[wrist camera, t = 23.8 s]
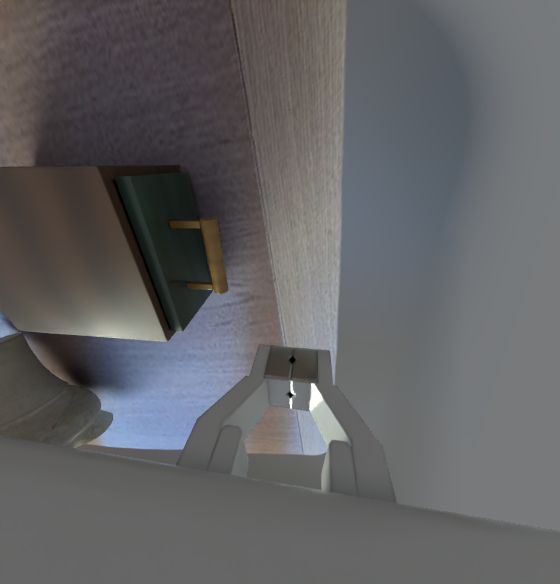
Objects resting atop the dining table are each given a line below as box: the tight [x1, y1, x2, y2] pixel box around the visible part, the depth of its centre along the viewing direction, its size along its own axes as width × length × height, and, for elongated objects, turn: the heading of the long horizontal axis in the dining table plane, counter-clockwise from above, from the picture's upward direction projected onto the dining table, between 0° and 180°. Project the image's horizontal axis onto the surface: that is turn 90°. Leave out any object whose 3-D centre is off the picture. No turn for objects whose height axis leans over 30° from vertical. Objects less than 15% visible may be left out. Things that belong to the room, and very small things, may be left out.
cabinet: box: [0, 165, 181, 342], centre depth 21 cm, size 17×15×10 cm
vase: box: [0, 333, 113, 448], centre depth 35 cm, size 22×22×28 cm
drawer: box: [113, 172, 228, 332], centre depth 21 cm, size 20×13×8 cm
